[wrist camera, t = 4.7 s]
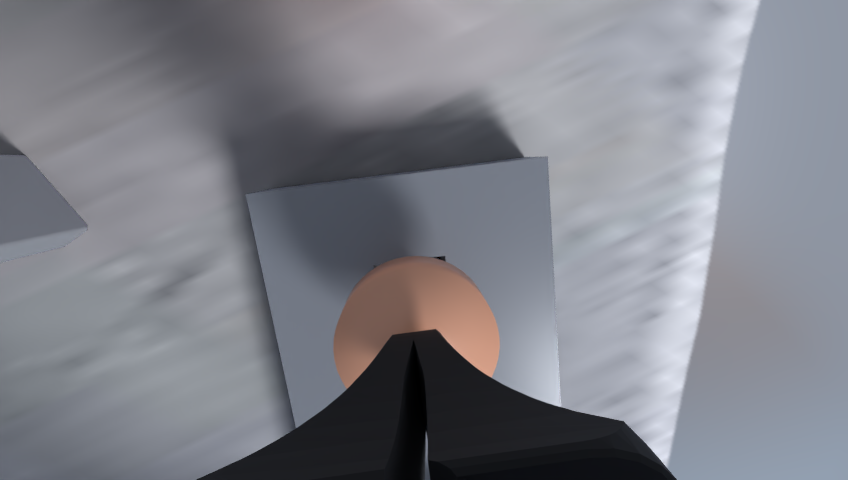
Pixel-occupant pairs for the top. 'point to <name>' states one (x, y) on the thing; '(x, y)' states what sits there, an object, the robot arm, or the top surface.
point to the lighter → (32, 211)
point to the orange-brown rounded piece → (414, 314)
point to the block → (410, 236)
